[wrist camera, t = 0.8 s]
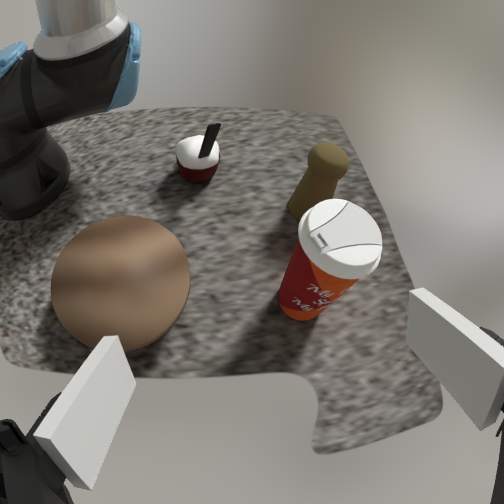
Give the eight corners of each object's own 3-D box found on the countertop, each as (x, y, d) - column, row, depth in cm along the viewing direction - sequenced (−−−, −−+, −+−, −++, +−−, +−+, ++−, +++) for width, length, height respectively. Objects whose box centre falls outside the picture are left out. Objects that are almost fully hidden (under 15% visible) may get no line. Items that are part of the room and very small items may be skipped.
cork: (299, 187, 46) (320, 130, 37) (333, 207, 45) (361, 152, 36) (280, 209, 43) (300, 149, 34) (317, 232, 42) (346, 175, 32)
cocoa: (179, 158, 46) (175, 91, 37) (218, 156, 47) (221, 90, 37) (175, 200, 41) (168, 127, 31) (220, 198, 42) (224, 125, 32)
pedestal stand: (62, 262, 33) (46, 238, 29) (170, 229, 38) (166, 201, 34) (84, 377, 27) (63, 367, 22) (211, 337, 32) (212, 321, 27)
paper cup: (289, 341, 33) (338, 286, 21) (257, 284, 36) (284, 207, 24) (342, 312, 36) (404, 250, 24) (310, 261, 39) (353, 186, 27)
